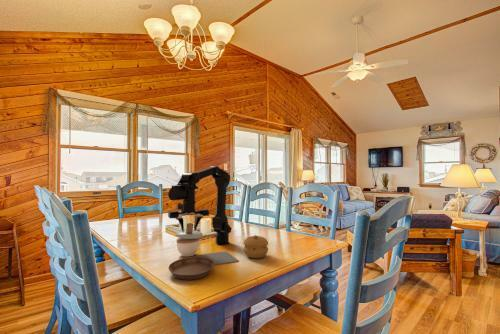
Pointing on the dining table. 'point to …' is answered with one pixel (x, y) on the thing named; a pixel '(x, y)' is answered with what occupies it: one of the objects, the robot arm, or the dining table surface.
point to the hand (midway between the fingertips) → (188, 231)
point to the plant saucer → (191, 267)
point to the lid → (189, 233)
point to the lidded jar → (187, 246)
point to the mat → (219, 257)
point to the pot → (255, 246)
